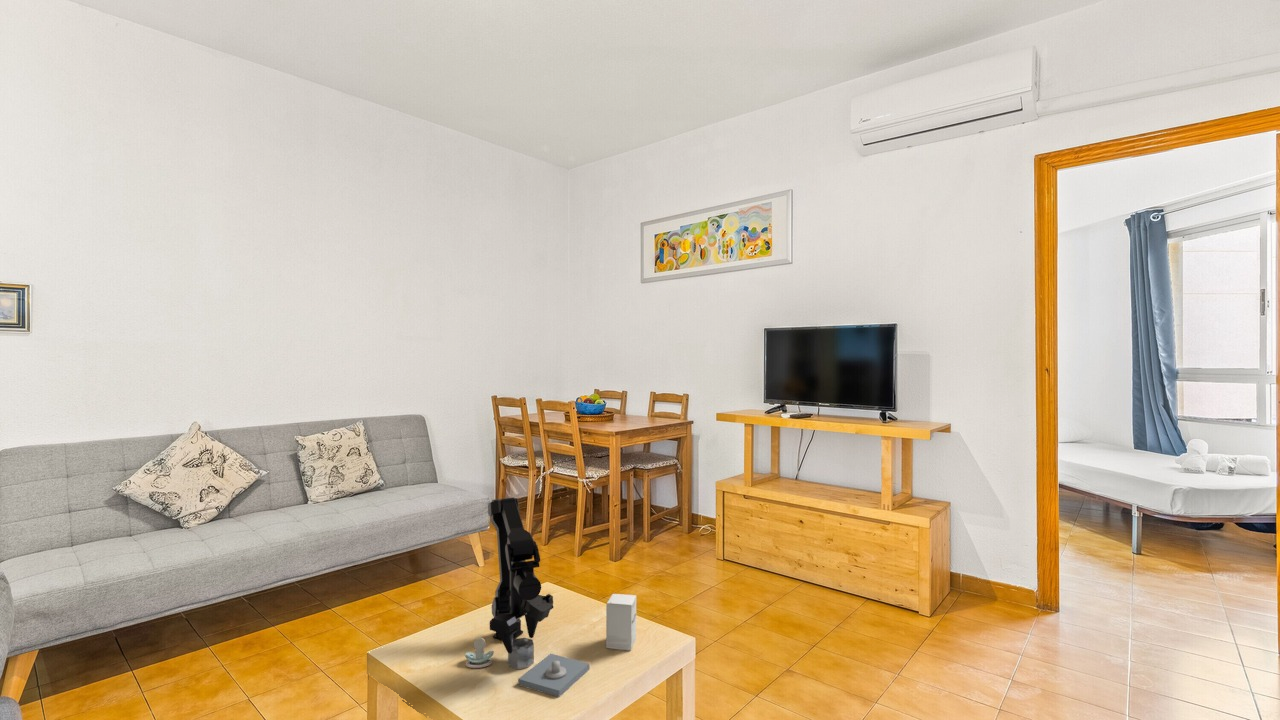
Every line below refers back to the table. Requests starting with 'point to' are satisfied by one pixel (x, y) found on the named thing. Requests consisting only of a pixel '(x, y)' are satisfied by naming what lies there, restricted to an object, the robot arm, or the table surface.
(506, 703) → the table surface
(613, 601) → the supplement box
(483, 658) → the pacifier
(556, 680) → the block
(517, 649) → the hub
